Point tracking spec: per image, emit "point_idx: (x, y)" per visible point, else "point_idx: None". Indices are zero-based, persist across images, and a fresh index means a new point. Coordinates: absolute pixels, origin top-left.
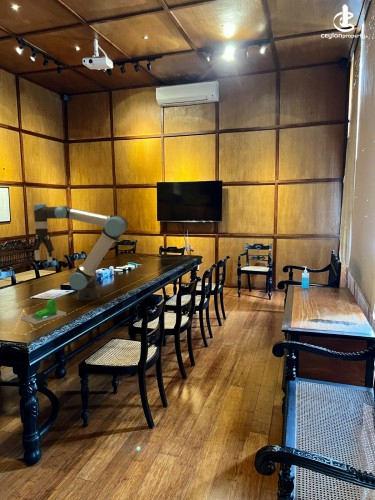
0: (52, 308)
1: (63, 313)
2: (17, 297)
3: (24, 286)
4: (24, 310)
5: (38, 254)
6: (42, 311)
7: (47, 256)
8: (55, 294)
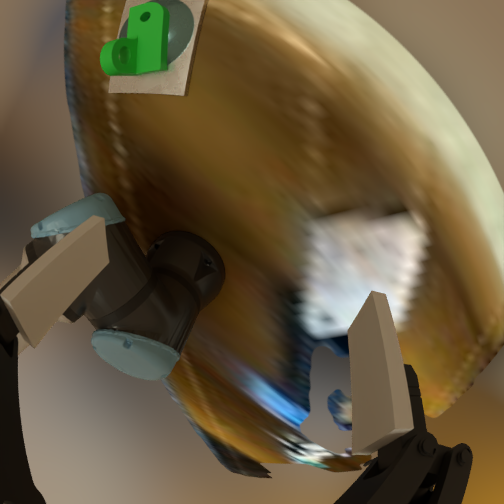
0: (121, 56)
1: (110, 83)
2: (468, 207)
3: (493, 319)
4: (302, 48)
5: (361, 382)
6: (148, 27)
7: (52, 256)
8: (348, 278)
